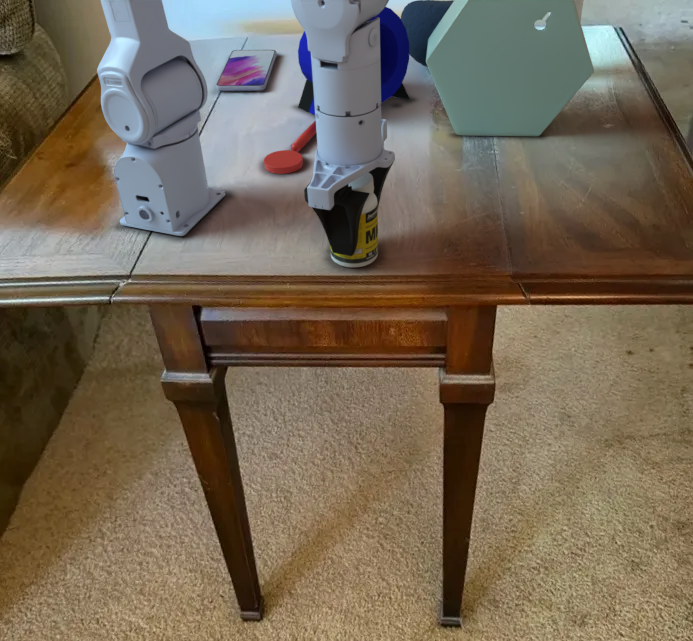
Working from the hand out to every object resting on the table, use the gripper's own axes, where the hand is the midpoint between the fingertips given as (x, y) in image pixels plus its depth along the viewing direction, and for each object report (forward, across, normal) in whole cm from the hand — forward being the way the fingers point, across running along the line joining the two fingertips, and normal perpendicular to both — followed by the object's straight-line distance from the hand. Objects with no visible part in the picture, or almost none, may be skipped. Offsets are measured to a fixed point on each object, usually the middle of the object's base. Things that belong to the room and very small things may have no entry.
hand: (353, 238), depth 74 cm
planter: (+2, +34, -7) cm, 35 cm away
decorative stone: (+2, +51, +6) cm, 51 cm away
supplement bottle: (+2, 0, 0) cm, 2 cm away
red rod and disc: (+2, +20, +15) cm, 25 cm away
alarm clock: (+2, +35, +14) cm, 38 cm away
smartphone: (+2, +41, +33) cm, 53 cm away
